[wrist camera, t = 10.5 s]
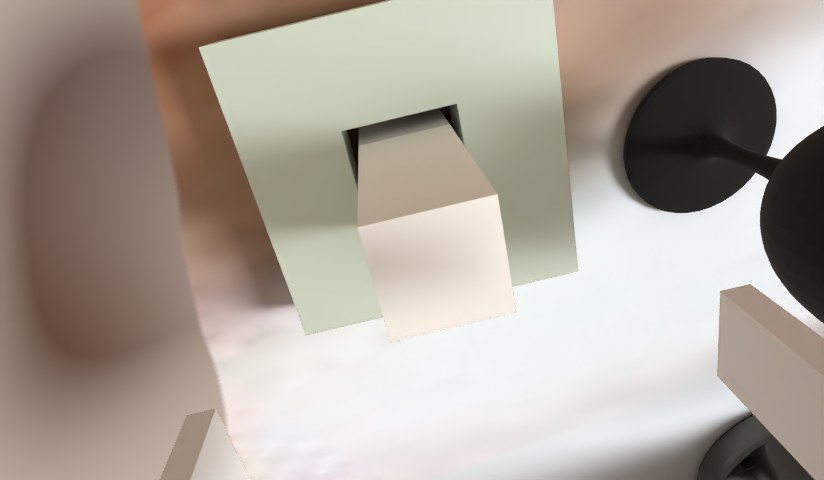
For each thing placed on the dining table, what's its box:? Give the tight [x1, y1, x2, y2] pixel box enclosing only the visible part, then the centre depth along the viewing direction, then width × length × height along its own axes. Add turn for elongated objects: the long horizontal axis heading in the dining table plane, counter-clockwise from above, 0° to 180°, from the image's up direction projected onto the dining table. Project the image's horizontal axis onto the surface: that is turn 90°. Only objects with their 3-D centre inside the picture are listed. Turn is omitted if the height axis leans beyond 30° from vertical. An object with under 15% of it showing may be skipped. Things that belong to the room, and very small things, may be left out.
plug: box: [357, 108, 516, 342], centre depth 27 cm, size 5×5×16 cm
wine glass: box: [624, 58, 824, 323], centre depth 26 cm, size 10×10×20 cm
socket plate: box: [199, 0, 578, 335], centre depth 32 cm, size 18×18×4 cm
